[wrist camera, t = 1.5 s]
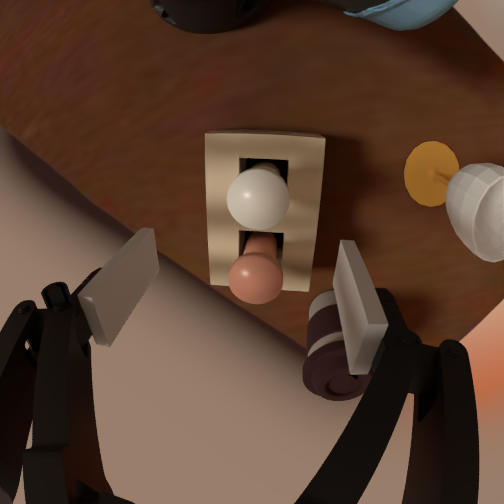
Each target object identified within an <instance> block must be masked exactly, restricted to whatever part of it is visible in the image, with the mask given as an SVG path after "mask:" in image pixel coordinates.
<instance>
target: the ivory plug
mask: <svg viewBox="0 0 504 504" xmlns="http://www.w3.org/2000/svg"><path fill="white" fill-rule="evenodd" d="M227 205H228V209H229V211H230V213H231V215H232V216H233V218H234V219H235V220H236V221H237V222H238V223H240V224H241V225H243V226H245V227H247V228H250V229H255V230H263V229H268V228H271V227H273V226H275V225H277V224H278V223H279V222H280V221H282V219H283V218H284V217H285V215H286V214H287V211H288V208H289V190H288V187H287V185H286V183H285V181H284V180H283V178H282V177H281V174H280V171H279V170H278V168H277V167H276V166H275V165H273V164H272V163H269V162H260V163H257V164H255V165H254V166H253V167H252V168H250V169H247V170H245V171H243V172H242V173H240V174H239V175H238V176H237V177H236V178H235V179H234V181H233V182H232V184H231V185H230V187H229V190H228V193H227Z"/></svg>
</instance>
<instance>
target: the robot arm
mask: <svg viewBox="0 0 504 504" xmlns="http://www.w3.org/2000/svg"><path fill="white" fill-rule="evenodd" d="M312 1H315V2H319V3H322V4H325V5H328V6H331V7H333V8H336V9H339V10H342V11H343V12H344V13H345V14H347V15H349V16H353V17H362V18H364V19H367V20H369V21H372V22H375V23H377V24H379V25H382V26H384V27H386V28H389V29H393V30H398V31H403V30H414V29H418V28H421V27H423V26H425V25H427V24H429V23H431V22H433V21H435V20H436V19H438V18H439V17H441V16H442V15H443V14H444V13H446V12H447V11H448V10H449V9H450V8H451V7H452V6H453V5H454V4H455V3H456V2H457V1H458V0H312ZM150 2H151V4H152V7H153V8H154V10H155V11H156V13H157V14H158V15H159V16H160V17H161V18H162V19H163V20H164V21H166V22H168V23H169V24H171V25H172V26H174V27H176V28H178V29H180V30H183V31H186V32H191V33H197V34H211V33H219V32H224V31H228V30H231V29H234V28H236V27H239V26H241V25H243V24H245V23H247V22H248V21H250V20H252V19H253V18H254V17H256V16H257V15H258V14H259V13H260V12H262V10H263V9H264V8H265V7H266V6H267V5H268V3H269V2H270V0H150ZM158 272H159V264H158V257H157V250H156V243H155V236H154V228H141V229H140V230H139V231H138V232H137V233H136V234H135V235H134V236H133V237H132V238H131V239H130V240H129V241H128V242H127V243H126V244H125V245H124V246H123V247H122V248H121V249H120V250H119V251H118V252H117V253H116V254H115V255H114V256H113V257H112V258H111V259H110V260H109V261H108V262H107V263H106V265H105V266H104V267H103V268H98V269H96V270H95V271H93V272H92V273H91V274H90V275H89V276H88V277H87V278H86V279H85V280H84V281H83V282H82V284H80V285H79V286H78V288H77V289H76V290H75V291H74V292H73V293H72V294H71V295H70V292H69V289H68V287H67V284H65V283H64V282H55V283H52V284H50V285H48V286H46V287H45V288H44V289H43V290H42V292H41V294H42V297H43V299H44V302H45V304H46V307H47V309H37V307H36V304H35V302H34V301H32V300H25V301H23V302H20V303H19V304H18V305H17V306H16V307H15V308H14V310H13V311H12V313H11V314H10V316H9V318H8V319H7V321H6V323H5V324H4V326H3V328H2V330H1V332H0V504H13V501H14V498H15V496H16V493H17V489H18V486H19V481H20V476H21V470H22V465H23V478H24V490H25V501H26V504H134V503H133V502H131V501H128V500H125V499H123V498H120V497H117V496H114V494H113V491H112V489H111V487H110V485H109V483H108V482H107V480H106V478H105V475H104V470H103V465H102V460H101V454H100V448H99V442H98V436H97V428H96V420H95V411H94V400H93V388H92V368H91V346H90V343H89V341H88V340H89V339H90V337H91V336H92V335H93V338H94V340H95V342H96V344H98V345H102V346H106V347H110V346H111V345H112V343H113V341H114V340H115V338H116V336H117V335H118V333H119V332H120V330H121V328H122V327H123V325H124V324H125V322H126V321H127V319H128V317H129V316H130V314H131V313H132V311H133V309H134V308H135V306H136V305H137V303H138V302H139V300H140V299H141V297H142V296H143V294H144V293H145V291H146V290H147V288H148V287H149V285H150V283H151V282H152V281H153V279H154V278H155V276H156V275H157V273H158ZM333 287H334V291H335V296H336V301H337V305H338V310H339V315H340V320H341V326H342V331H343V336H344V342H345V347H346V353H347V359H348V365H349V371H350V375H354V374H368V372H369V370H370V368H371V366H372V368H373V372H374V374H373V376H372V378H371V380H370V382H369V384H368V386H367V388H366V390H365V392H364V394H363V396H362V398H361V400H360V402H359V404H358V406H357V408H356V410H355V412H354V413H353V415H352V417H351V419H350V421H349V422H348V424H347V426H346V428H345V429H344V431H343V433H342V434H341V436H340V438H339V439H338V441H337V443H336V444H335V446H334V447H333V449H332V451H331V452H330V454H329V455H328V457H327V459H326V460H325V461H324V463H323V464H322V466H321V468H320V469H319V470H318V472H317V474H316V475H315V476H314V478H313V479H312V480H311V482H310V483H309V485H308V486H307V488H306V489H305V490H304V491H303V493H302V494H301V495H300V497H299V498H298V499H297V501H296V502H295V503H294V504H357V503H358V501H359V499H360V497H361V496H362V494H363V492H364V491H365V489H366V487H367V485H368V483H369V481H370V480H371V478H372V476H373V474H374V472H375V470H376V468H377V466H378V463H379V462H380V460H381V457H382V456H383V453H384V451H385V449H386V447H387V445H388V442H389V440H390V438H391V435H392V433H393V431H394V428H395V426H396V423H397V421H398V418H399V416H400V413H401V411H402V408H403V405H404V402H405V400H406V397H407V394H408V393H412V394H414V412H413V427H412V439H411V448H410V457H409V465H408V471H407V478H406V484H405V490H404V495H403V500H402V504H477V503H478V489H479V435H478V421H477V409H476V400H475V392H474V385H473V379H472V373H471V367H470V361H469V357H468V352H467V350H466V348H465V347H464V346H463V345H462V344H461V343H459V342H458V341H455V340H450V339H447V340H445V341H443V342H442V343H441V344H440V346H439V348H438V347H433V346H429V345H425V344H422V341H421V339H420V337H419V336H418V335H417V334H416V333H414V332H412V331H410V330H408V328H407V326H406V324H405V321H404V319H403V317H402V314H401V312H400V310H399V307H398V305H397V304H396V301H395V299H394V296H393V295H392V294H391V293H390V292H389V291H388V290H387V289H386V288H374V285H373V283H372V281H371V278H370V276H369V273H368V271H367V269H366V266H365V264H364V262H363V259H362V257H361V255H360V252H359V250H358V248H357V246H356V243H355V241H353V240H340V246H339V252H338V257H337V263H336V269H335V274H334V279H333ZM26 341H27V343H28V344H29V348H28V350H27V349H26V348H25V342H26ZM32 420H33V431H32V432H33V433H32V435H33V436H32V440H33V441H32V447H31V448H30V449H26V445H27V440H28V436H29V431H30V428H31V424H32Z"/></svg>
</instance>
